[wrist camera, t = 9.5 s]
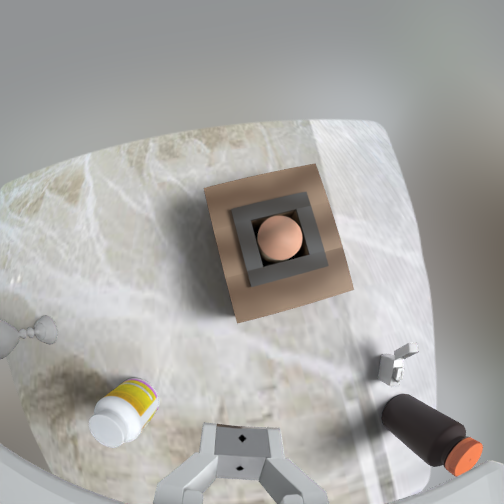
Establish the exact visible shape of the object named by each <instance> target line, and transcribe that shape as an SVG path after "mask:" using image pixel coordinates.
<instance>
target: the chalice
mask: <svg viewBox="0 0 504 504" xmlns="http://www.w3.org/2000/svg"><path fill="white" fill-rule="evenodd" d="M34 335H36V337H37V338H38V339H39V340H40V341H42V342H45V343H47V344H53V343H54V342H55V341H56V340H57V336H58V330H57V326H56V324H55V321H54V320H53V319H52V318H51V317H50V316H47V315H45V316H42V317H41V318H40V319H39V320H38V321H37V322H36V323H35V326H34V329H32V328H31V327H28V328H27V330H24V329H21V330H20V331H17V329H16V328H15V327H14V326H12V325H11V324H9V323H7V322H6V321H4V320H1V319H0V359H3V358H4V357H6V356H7V355H8V354H9V353H10V352H11V351H12V350H13V349H14V348H15V346H16V345H17V344H18V342H19V337H22V338H23V339H25V338H26V337H27V336H29V337H30V338H33V337H34Z"/></svg>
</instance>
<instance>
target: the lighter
mask: <svg viewBox="0 0 504 504" xmlns="http://www.w3.org/2000/svg"><path fill="white" fill-rule="evenodd" d="M418 352H419V350H418V343H408V344H406V345H404V346H402V347H401V348H399V349H397V350H395V351H394V355H395V356H394V355H391V354H382V355H381V360H380V367H379V373H378V379H379V380H381V381H382V382H384V383H386V384H387V385H389V386H391V387H392V386H399V385H400V380H402V379H403V373H404V368H403V362H404V360H403V359H406V358H408V357H410V356H412V355H414V354H416V353H418Z"/></svg>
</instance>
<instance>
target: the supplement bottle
mask: <svg viewBox="0 0 504 504" xmlns="http://www.w3.org/2000/svg"><path fill="white" fill-rule="evenodd" d="M158 407H159V396H158V393H157V391H156V390H155V388H154V387H153V386H152V385H151V384H150V383H148V382H147V381H145V380H142V379H139V378H131V379H128V380H126V381H124V382H123V383H122V384H120V385H119V386H118V387H116V388H115V389H114V390H113V391H111V392H110V393H109V394H107V395H106V396H104V397H103V398H102V399H101V400H99V401H98V402H97V404H96V406H95V409H94V415H93V416H92V417H91V418H90V420H89V429H90V431H91V433H92V435H93V436H94V438H95V439H96V440H97V441H98V442H100V443H101V444H103V445H104V446H107V447H111V448H116V447H119V446H120V445H121V444H122V443H123V442H131V441H133V440H135V439H136V438H137V437H138V436H139V435H140V433H141V432H142V431H143V429H144V428H145V426H146V425H147V424H148V422H149V421H150V420H151V418H152V417H153V416H154V414H155V413H156V411H157V410H158Z"/></svg>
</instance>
